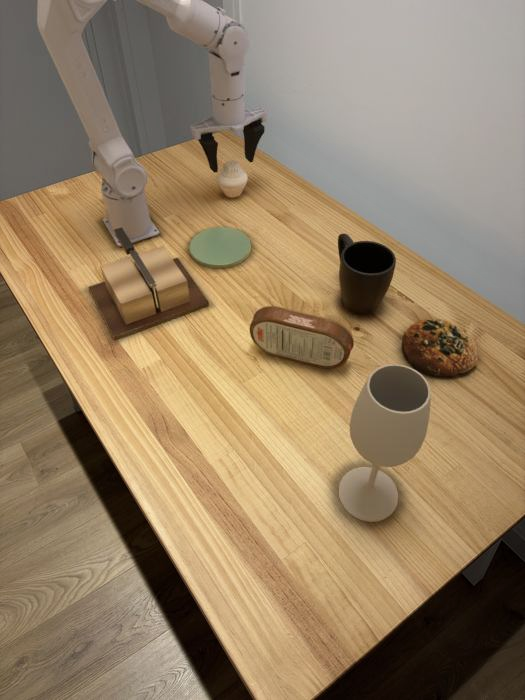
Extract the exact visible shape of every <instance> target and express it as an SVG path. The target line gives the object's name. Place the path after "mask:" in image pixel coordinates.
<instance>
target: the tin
mask: <svg viewBox="0 0 525 700" xmlns="http://www.w3.org/2000/svg"><path fill="white" fill-rule="evenodd" d="M249 335H250V338H251V341H252V342H253V343H254V344H255V345H256V346H257V348H259V349H260V350H262V351H263V352H266V353H267V354H268V355H269V354H270V355H273V356H276V357H280V358H283V359H286V360H287V359H288V360H290V361H295V362H298V363H301V364H302V363H303V364H306V365H310V366H313V367H317V368H321V369H335V368H339V367H341V366H343V365H344V364H345V363H346V362H347V361H348V359H349V358H350V355H351V353H352V350H353V348H354V344H355V341H354V337H353V335H352V333H351V332H350V330H349V329H347V327H345V326H344V325H343V324H341V323H340V322H338V321H335V320H333V319H330V318H328V317H327V318H326V317H322V316H319V315H315V314H309V313H306V312H301V311H297V310H294V309H289V308H285V307H281V306H276V305H268V306H263V307H260V308H259V309H257V311H255V312H254V315H253V318H252V320H251V323H250V325H249Z"/></svg>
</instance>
